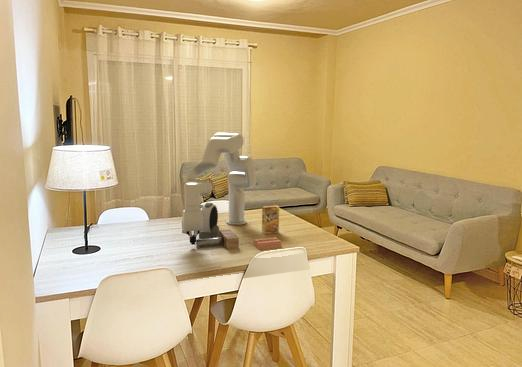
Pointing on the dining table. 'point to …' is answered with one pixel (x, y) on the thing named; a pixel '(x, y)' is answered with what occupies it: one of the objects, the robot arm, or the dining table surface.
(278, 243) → the v block
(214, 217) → the alarm clock
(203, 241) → the axle
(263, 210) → the candy box
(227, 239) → the beam
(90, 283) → the dining table surface
